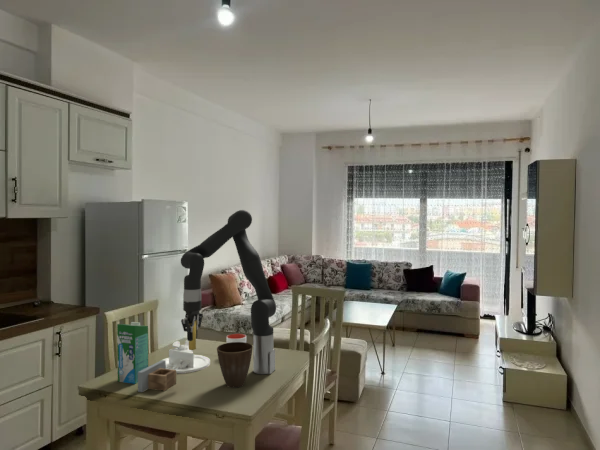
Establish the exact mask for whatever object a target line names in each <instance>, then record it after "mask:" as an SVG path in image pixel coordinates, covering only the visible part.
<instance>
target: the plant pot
mask: <svg viewBox="0 0 600 450" xmlns="http://www.w3.org/2000/svg"><path fill="white" fill-rule="evenodd" d="M216 351H217V358H218V364H219V367H220V370H221V374H222V377H223V379H224V382H225V385H226V386H227V387H228V388H233V389H236V388H240V387H243V386H244V385H245V383H246V381H247V376H248V374H249V371H250V367H251V366H250V365H251V361H252V357H253V356H252V355H253V344H251V343H249V342H246V343H244V342H231V343H227V342H225V343H221V344H219V345H217V347H216Z"/></svg>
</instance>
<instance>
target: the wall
mask: <svg viewBox="0 0 600 450" xmlns="http://www.w3.org/2000/svg"><path fill="white" fill-rule="evenodd" d="M159 368H164V369H166V361H165V360H163V359H161V360H159V361H157V362H155V363H153V364H151V365H148V367H147V368H145V369H143V370H141V371H139V372H138V383H137V392H139V393H144V392H145V391H146V390H149V389H148V374H150V373H152V372H153V371H155V370H157V369H159Z"/></svg>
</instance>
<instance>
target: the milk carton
mask: <svg viewBox="0 0 600 450" xmlns="http://www.w3.org/2000/svg"><path fill="white" fill-rule="evenodd" d="M116 330H117V331H116V337H117V339H116V341H117V344H116V345H117V349H116V350H117V351H116V352H117V382H118V383H119V382H120V383H125V384H131V385H132V384H134V385H135V384H138V372H139V371H141V370H143V369H145V368H147V367H149V326H148V325H141V322H140V321H139V322H137V321H131V322H130V324H125V323H117V325H116Z"/></svg>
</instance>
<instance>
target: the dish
mask: <svg viewBox="0 0 600 450" xmlns="http://www.w3.org/2000/svg"><path fill="white" fill-rule="evenodd" d="M180 342H181V341H179V340H176V341H174V342H173V343H172V345H171V347H174V348H171V349H168V357H166V358H163V359H162V360H165V361H166V369H173V370H176V374H187V373H188V374H189V373H194V372H198V371H202V370H204V369H206V368H208V367H209V366H210V365H211V359H210V358H209V357H207V356H204V355H201V354H194V352H193V350H189V341H188V340H187V339H186V340H185V342H184V344H181V343H180Z"/></svg>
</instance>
